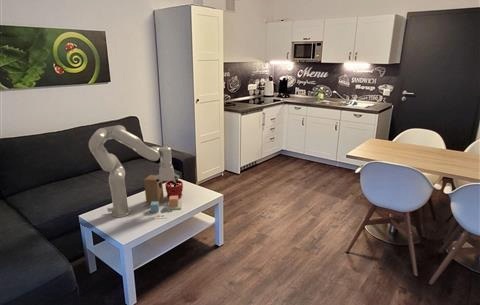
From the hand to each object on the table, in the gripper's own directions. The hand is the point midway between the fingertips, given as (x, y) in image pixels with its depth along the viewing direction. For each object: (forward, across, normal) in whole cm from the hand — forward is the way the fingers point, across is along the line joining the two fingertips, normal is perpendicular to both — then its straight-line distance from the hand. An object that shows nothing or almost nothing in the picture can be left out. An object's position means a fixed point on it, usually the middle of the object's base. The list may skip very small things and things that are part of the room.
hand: (167, 187), depth 223 cm
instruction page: (+16, -4, -13) cm, 21 cm away
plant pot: (+16, +3, +17) cm, 24 cm away
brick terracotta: (+14, +4, +1) cm, 15 cm away
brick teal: (+16, -9, -4) cm, 19 cm away
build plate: (+16, +4, +1) cm, 16 cm away
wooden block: (+16, -11, +10) cm, 22 cm away
